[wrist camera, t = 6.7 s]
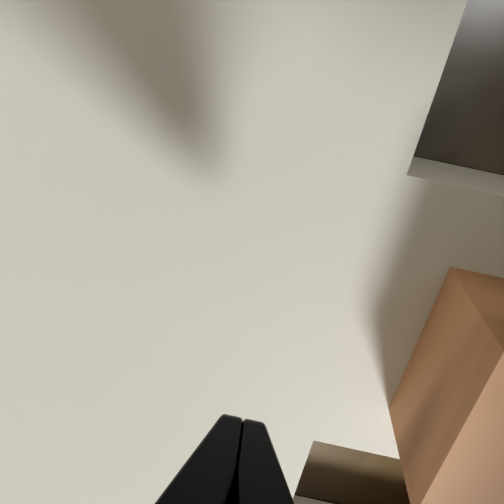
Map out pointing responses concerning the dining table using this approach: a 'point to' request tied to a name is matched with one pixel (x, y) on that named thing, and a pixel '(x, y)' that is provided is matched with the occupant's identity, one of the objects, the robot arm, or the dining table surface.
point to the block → (455, 397)
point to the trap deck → (217, 230)
